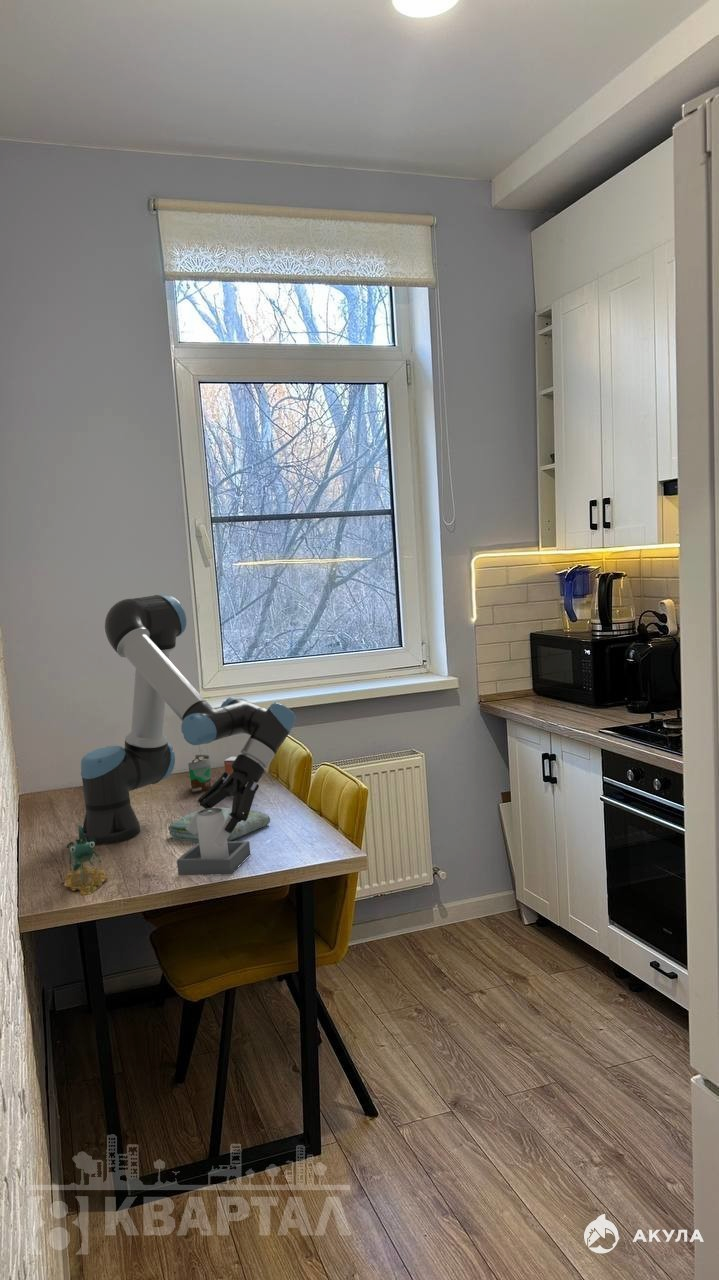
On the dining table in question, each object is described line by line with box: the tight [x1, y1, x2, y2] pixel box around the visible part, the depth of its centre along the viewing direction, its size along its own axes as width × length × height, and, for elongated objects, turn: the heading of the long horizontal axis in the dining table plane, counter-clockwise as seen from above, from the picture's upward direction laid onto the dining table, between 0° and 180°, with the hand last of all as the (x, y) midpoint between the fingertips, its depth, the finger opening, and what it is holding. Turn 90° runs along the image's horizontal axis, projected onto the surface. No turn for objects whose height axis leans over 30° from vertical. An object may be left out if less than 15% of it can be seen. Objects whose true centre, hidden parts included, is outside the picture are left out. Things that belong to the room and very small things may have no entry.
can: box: [197, 807, 229, 859], centre depth 218 cm, size 6×6×12 cm
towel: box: [167, 806, 271, 843], centre depth 245 cm, size 18×21×5 cm
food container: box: [187, 754, 213, 794], centre depth 292 cm, size 12×6×10 cm, turn 179°
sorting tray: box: [176, 840, 251, 876], centre depth 218 cm, size 13×13×4 cm
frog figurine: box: [63, 825, 109, 896], centre depth 213 cm, size 10×18×15 cm, turn 18°
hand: (203, 837), depth 216 cm, fingers open, 13 cm apart
